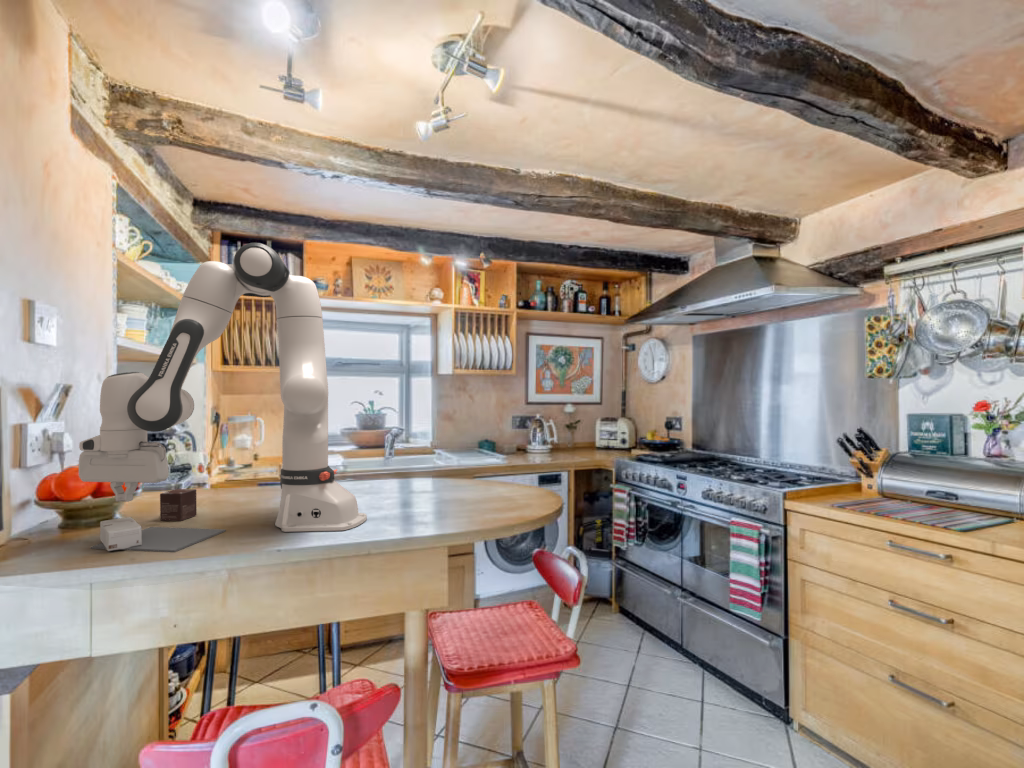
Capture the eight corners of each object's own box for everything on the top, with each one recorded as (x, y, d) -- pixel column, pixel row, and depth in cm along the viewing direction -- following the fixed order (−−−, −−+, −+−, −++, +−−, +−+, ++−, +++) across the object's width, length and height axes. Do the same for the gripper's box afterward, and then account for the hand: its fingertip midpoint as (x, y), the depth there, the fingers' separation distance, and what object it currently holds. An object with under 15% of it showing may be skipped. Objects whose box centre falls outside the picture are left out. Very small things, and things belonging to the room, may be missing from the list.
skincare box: (131, 516, 119) (143, 524, 111) (131, 535, 119) (143, 545, 111) (98, 521, 115) (107, 530, 107) (98, 541, 115) (108, 552, 107)
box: (197, 515, 139) (197, 489, 139) (180, 521, 133) (180, 493, 133) (176, 515, 139) (176, 488, 139) (159, 521, 133) (159, 493, 133)
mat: (225, 531, 124) (225, 529, 124) (174, 552, 108) (174, 550, 108) (151, 528, 126) (151, 526, 126) (90, 548, 110) (90, 546, 110)
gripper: (175, 440, 120) (175, 498, 120) (98, 440, 123) (98, 497, 122) (153, 443, 114) (153, 505, 114) (72, 443, 116) (72, 503, 116)
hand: (124, 501), depth 118 cm, fingers closed
